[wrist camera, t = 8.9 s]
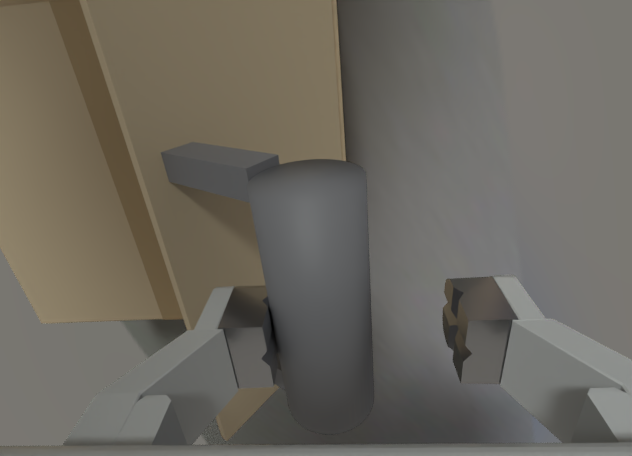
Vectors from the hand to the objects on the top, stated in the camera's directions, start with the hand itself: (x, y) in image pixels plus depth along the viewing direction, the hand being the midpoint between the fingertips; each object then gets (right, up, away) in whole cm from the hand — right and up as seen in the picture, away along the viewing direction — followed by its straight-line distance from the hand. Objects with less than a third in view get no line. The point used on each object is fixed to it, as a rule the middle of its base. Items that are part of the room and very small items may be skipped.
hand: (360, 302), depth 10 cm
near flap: (-3, +2, +4) cm, 6 cm away
